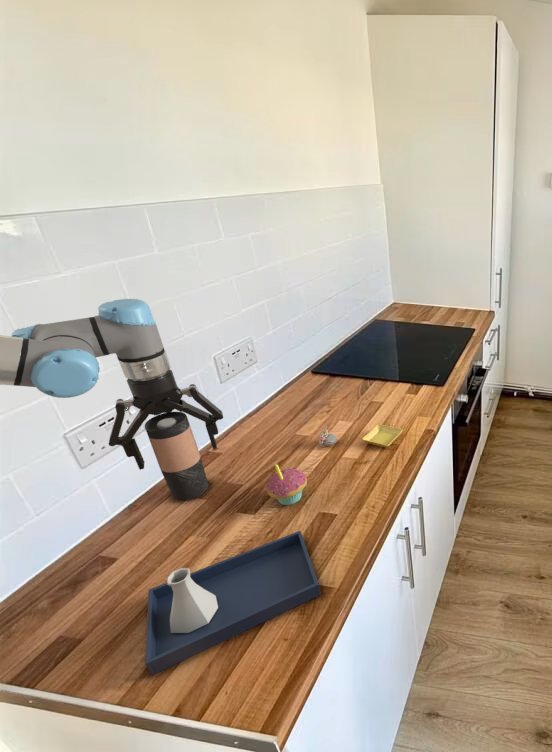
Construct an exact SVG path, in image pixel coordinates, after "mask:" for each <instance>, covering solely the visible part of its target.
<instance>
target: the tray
mask: <svg viewBox="0 0 552 752" xmlns="http://www.w3.org/2000/svg"><path fill="white" fill-rule="evenodd" d="M190 578H191V579H192V580H193V581H194V582H195V583H196V584H197V585H199V586H200V587H202V588H203V589H205V590H207V591H208V592H210V593H212V594H214V595H215V596H216V600H217V604H218V609H217V610H216V612H215V613H214V615H213V617H212V618H211V620H210V622H209V623H208V624H206V625H204V626H202V627H200V628H198V629H196V630H193V631H191V632H189V633H171V629H170V614H171V608H172V601H173V590H172V587H171V586H168V584H167V582H165V583H162V584H160V585H157V586H155V587H151V588H149V589H148V591H147V593H148V594H147V615H146V616H147V618H146V641H145V643H146V646H145V666H146V668H147V670H148V672H149V673H150V675H151V676H153V675H155V674H158V673H160V672H162V671H164V670H166V669H168V668H171V667H172V666H174V665H176V664H179V663H181V662H183V661H185V660H187V659H189V658H191V657H193V656H196V655H198V654H200V653H202V652H204V651H206V650H209V649H211V648H213V647H214V646H217V645H219V644H221V643H223V642H225V641H228V640H229V639H231V638H234V637H236V636H238V635H240V634H241V633H243V632H246V631H248V630H250V629H253V628H254V627H257V626H259V625H261V624H263V623H265V622H268V621H270V620H272V619H273V618H276V617H277V616H280V615H281V614H284V613H286V612H288V611H290V610H292V609H295V608H297V607H299V606H301V605H302V604H305V603H307V602H309V601H311V600H313V599H315V598H317V597H319V596H321V595H322V594H321V589H320V588H321V587H320V584H319V581H318V578H317V575H316V572H315V569H314V566H313V563H312V561H311V557H310V555H309V552H308V549H307V546H306V543H305V540H304V537H303V534H302V531H301V530H298V531H295V532H293V533H291V534H287V535H285V536H283V537H280V538H278V539H275V540H272V541H270V542H268V543H265V544H262V545H259V546H257V547H254V548H252V549H249V550H246V551H244V552H241V553H239V554H237V555H234V556H231V557H229V558H226V559H223V560H221V561H219V562H216V563H214V564H211V565H209V566H206V567H203V568H200V569H198V570H195V571H194V572H190Z"/></svg>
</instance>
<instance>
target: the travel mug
mask: <svg viewBox="0 0 552 752" xmlns="http://www.w3.org/2000/svg"><path fill="white" fill-rule="evenodd" d="M144 430H145V432H146V434H147V436H148V440H149V442H150V444H151V447H152V450H153V453H154V456H155V459H156V462H157V465H158V467H159V469H160V472H161V474H162V476H163V478H164V481H165V483H166V485H167V487H168V490H169V492H170V494H171V497H172V498H173V499H174V500H175V501H178V502H185V501H190V500H193V499H196V498H198V497H200V496H201V495H203V494H204V493H205V492H207V490H208V488H209V482H208V481H209V480H208V478H207V474H206V470H205V468H204V464H203V460H202V456H201V452H200V450H199V447H198V443H197V442H196V439H195V436H194V433H193V430H192V427H191V425H190V422H189V419H188V416H187V413H185V412H180V411H172V412H168V413H161V414H159V415H155V416H153V417H151V418H149V419H148V420H146V422H145V423H144Z"/></svg>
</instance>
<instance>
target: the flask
mask: <svg viewBox="0 0 552 752" xmlns="http://www.w3.org/2000/svg"><path fill="white" fill-rule="evenodd" d="M190 573H191V571H190V568H189V567H181V568H177V569H176V570H174V571H171V572H170V574H169V575H168V576H167V577H166V583H167V584H168V586H171V587H172V590H173V601H172V608H171V614H170V629H171V633H189V632H191V631H193V630H196V629H198V628H200V627H202V626H204V625H206V624H208V623H209V622H210V620H211V618H212V617H213V615H214V613H215V612H216V610H217V609H218V604H217V600H216V596H215V595H214V594H212V593H210V592H208V591H207V590H205V589H203V588H202V587H200V586H199V585H197V584H196V583H195V582H194V581H193V580H192V579H191V578H190Z"/></svg>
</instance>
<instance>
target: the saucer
mask: <svg viewBox="0 0 552 752" xmlns="http://www.w3.org/2000/svg"><path fill="white" fill-rule="evenodd" d="M403 431H404V429H403V428H399V427H395V426H390V425H386V424H381V423H378V424H376V425H375V426H374V427H373V428H372V429H371V430H370V431H368V433H367V434H365V435H364V436H363V437H362V438H361V440H362V442H364V443H367V444H369V445H373V446H376V447H382V448H385V449H387V448H389V447H390V446H391V445H392V444H393V443H394V442H395V441H396V439H397V438H398V437H400V435H402V433H403Z"/></svg>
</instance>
